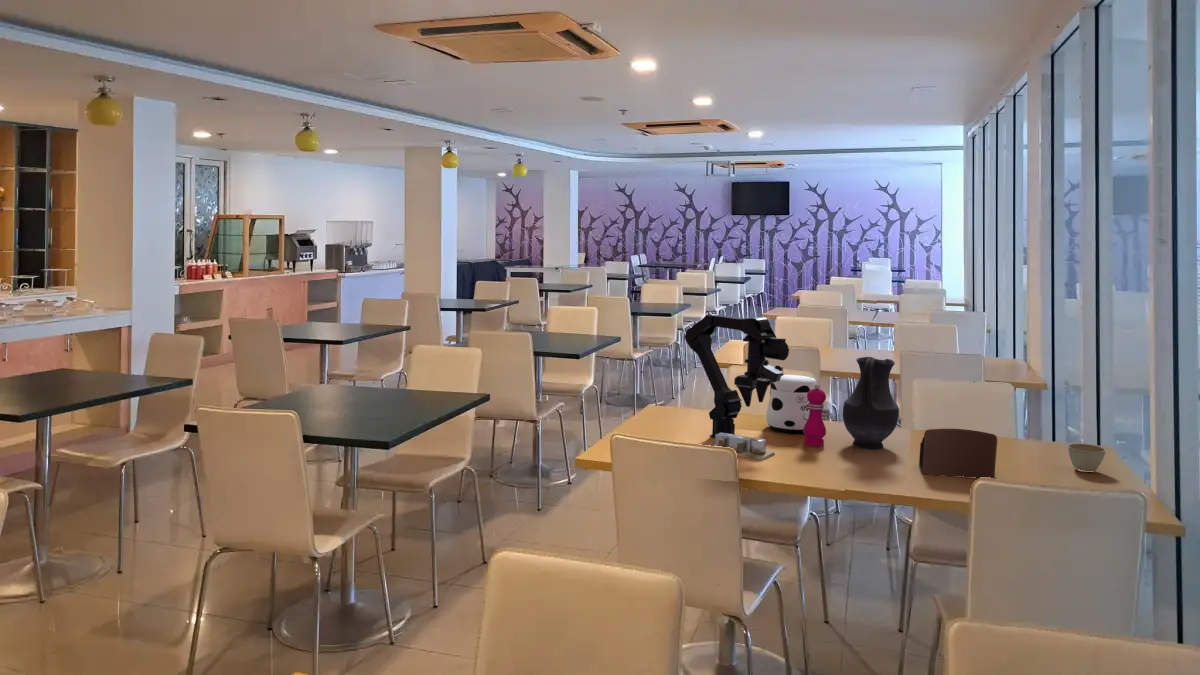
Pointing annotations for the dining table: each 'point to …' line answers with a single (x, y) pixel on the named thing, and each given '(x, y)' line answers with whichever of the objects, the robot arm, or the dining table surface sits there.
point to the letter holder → (958, 453)
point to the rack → (745, 454)
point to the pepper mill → (815, 418)
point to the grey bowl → (1086, 456)
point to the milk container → (789, 403)
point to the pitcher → (871, 405)
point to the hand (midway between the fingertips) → (754, 404)
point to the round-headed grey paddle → (749, 444)
